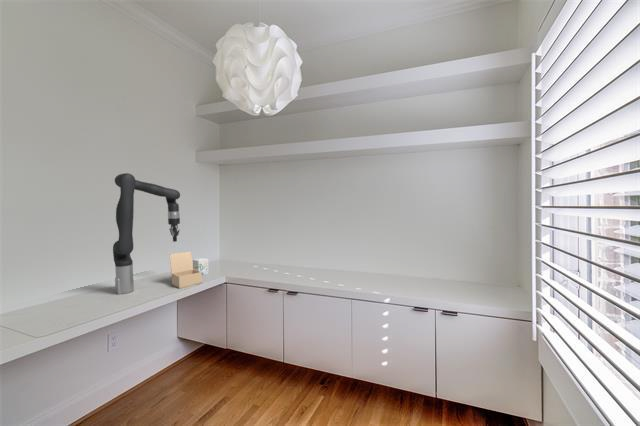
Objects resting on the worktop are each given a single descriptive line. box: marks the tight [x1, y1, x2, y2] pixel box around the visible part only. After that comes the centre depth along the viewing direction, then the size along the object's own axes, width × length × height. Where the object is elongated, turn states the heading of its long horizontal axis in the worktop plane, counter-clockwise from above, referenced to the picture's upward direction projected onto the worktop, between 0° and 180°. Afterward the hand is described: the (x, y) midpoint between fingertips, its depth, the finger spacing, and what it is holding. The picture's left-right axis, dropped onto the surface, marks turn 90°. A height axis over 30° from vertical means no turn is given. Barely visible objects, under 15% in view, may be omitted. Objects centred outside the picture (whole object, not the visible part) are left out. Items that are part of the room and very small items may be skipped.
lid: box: [169, 251, 193, 273], centre depth 206 cm, size 15×13×1 cm
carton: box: [170, 269, 203, 290], centre depth 201 cm, size 15×13×8 cm
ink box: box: [192, 257, 209, 276], centre depth 229 cm, size 8×8×12 cm
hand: (174, 241), depth 212 cm, fingers closed
